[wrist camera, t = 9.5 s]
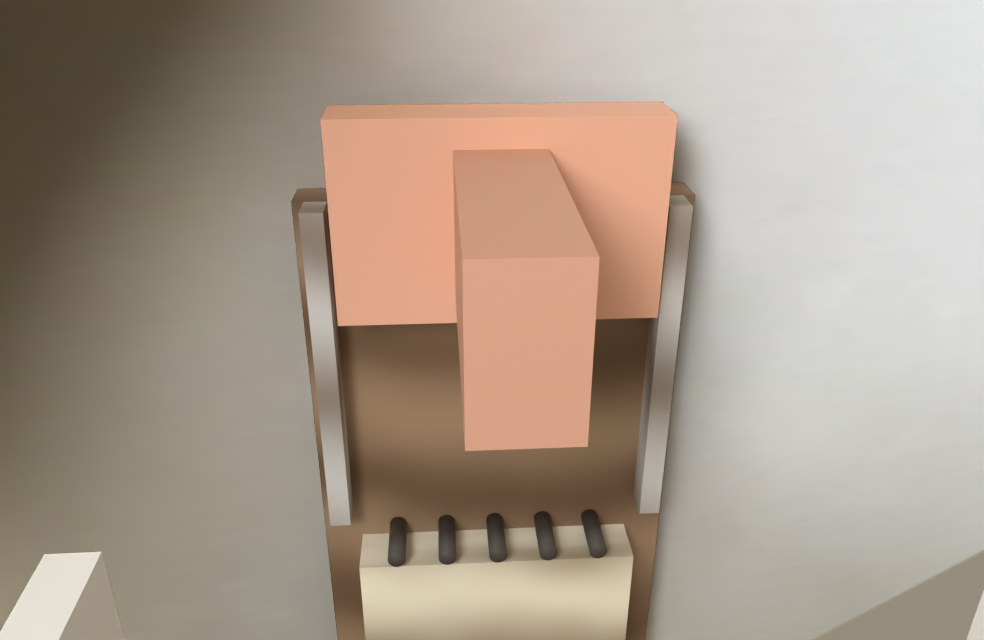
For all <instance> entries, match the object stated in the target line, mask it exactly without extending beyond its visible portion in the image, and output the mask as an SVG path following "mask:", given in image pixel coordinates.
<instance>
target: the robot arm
mask: <svg viewBox="0 0 984 640" xmlns="http://www.w3.org/2000/svg"><path fill="white" fill-rule="evenodd" d="M0 640H125V639H124V635H123V631H122V627H121V623H120V620H119V616H118V612H117V608H116V604H115V601H114V597H113V593H112V589H111V585H110V582H109V578H108V574H107V570H106V566H105V563H104V559H103V555H102V552H84V553H62V554H44V556H43V558H42V559H41V561H40V563H39V565H38V566H37V568H36V570H35V572H34V573H33V575H32V577H31V579H30V580H29V582H28V584H27V586H26V587H25V589H24V591H23V593H22V594H21V596H20V598H19V600H18V601H17V603H16V605H15V607H14V608H13V610H12V612H11V614H10V615H9V617H8V619H7V621H6V622H5V624H4V626H3V628H2V629H1V631H0ZM967 640H984V591H983V594H982V596H981V599H980V602H979V605H978V608H977V611H976V614H975V617H974V619H973V622H972V625H971V628H970V631H969V634H968V637H967Z"/></svg>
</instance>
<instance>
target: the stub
mask: <svg viewBox="0 0 984 640" xmlns="http://www.w3.org/2000/svg"><path fill="white" fill-rule="evenodd" d="M677 118H678V115H677V114H676V113H675V112H673V111H672V110H671V109H670V108H669V107H668V106H667V105H665V104H664V103H663V102H582V103H491V104H401V105H327V107H326V109H325V111H324V113H323V115H322V117H321V119H320V123H321V134H322V146H323V158H324V169H325V181H326V192H327V204H328V215H329V227H330V239H331V250H332V262H333V273H334V285H335V296H336V308H337V319H338V326H357V325H396V324H434V323H457V329H458V345H459V362H460V378H461V394H462V411H463V427H464V443H465V451H480V450H509V449H537V448H566V447H588V434H589V418H590V402H591V386H592V370H593V354H594V339H595V323H596V319H625V318H658V311H659V300H660V290H661V280H662V270H663V260H664V250H665V240H666V230H667V219H668V209H669V199H670V189H671V179H672V169H673V159H674V149H675V138H676V128H677Z"/></svg>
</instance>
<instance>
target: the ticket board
mask: <svg viewBox="0 0 984 640" xmlns="http://www.w3.org/2000/svg"><path fill="white" fill-rule="evenodd" d="M694 201H695V194H694V193H693V192H692V191H691V190H690V189H689V188H688V187H687V185H686V184H685V183H684V182H678V183H671V189H670V199H669V209H668V219H667V230H666V240H665V250H664V260H663V270H662V280H661V290H660V300H659V311H658V318H625V319H596V323H595V339H594V354H593V370H592V386H591V402H590V418H589V434H588V447H566V448H537V449H509V450H480V451H465V443H464V427H463V411H462V394H461V378H460V362H459V345H458V329H457V323H434V324H396V325H357V326H338V319H337V308H336V296H335V285H334V273H333V262H332V250H331V239H330V227H329V215H328V204H327V192H326V188H319V189H297V191H296V193H295V195H294V198H293V200H292V202H291V204H292V213H293V223H294V232H295V242H296V251H297V260H298V270H299V279H300V289H301V298H302V308H303V317H304V327H305V336H306V345H307V355H308V364H309V374H310V383H311V393H312V402H313V411H314V421H315V430H316V440H317V449H318V459H319V468H320V477H321V487H322V496H323V506H324V515H325V525H326V534H327V543H328V553H329V562H330V572H331V581H332V591H333V600H334V610H335V619H336V628H337V638H338V640H645V637H646V628H647V619H648V610H649V601H650V592H651V583H652V574H653V565H654V556H655V548H656V539H657V530H658V521H659V512H660V503H661V494H662V485H663V476H664V468H665V459H666V450H667V441H668V432H669V423H670V414H671V405H672V396H673V387H674V379H675V370H676V361H677V352H678V343H679V334H680V325H681V316H682V307H683V299H684V290H685V281H686V272H687V263H688V254H689V245H690V236H691V227H692V218H693V210H694Z"/></svg>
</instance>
